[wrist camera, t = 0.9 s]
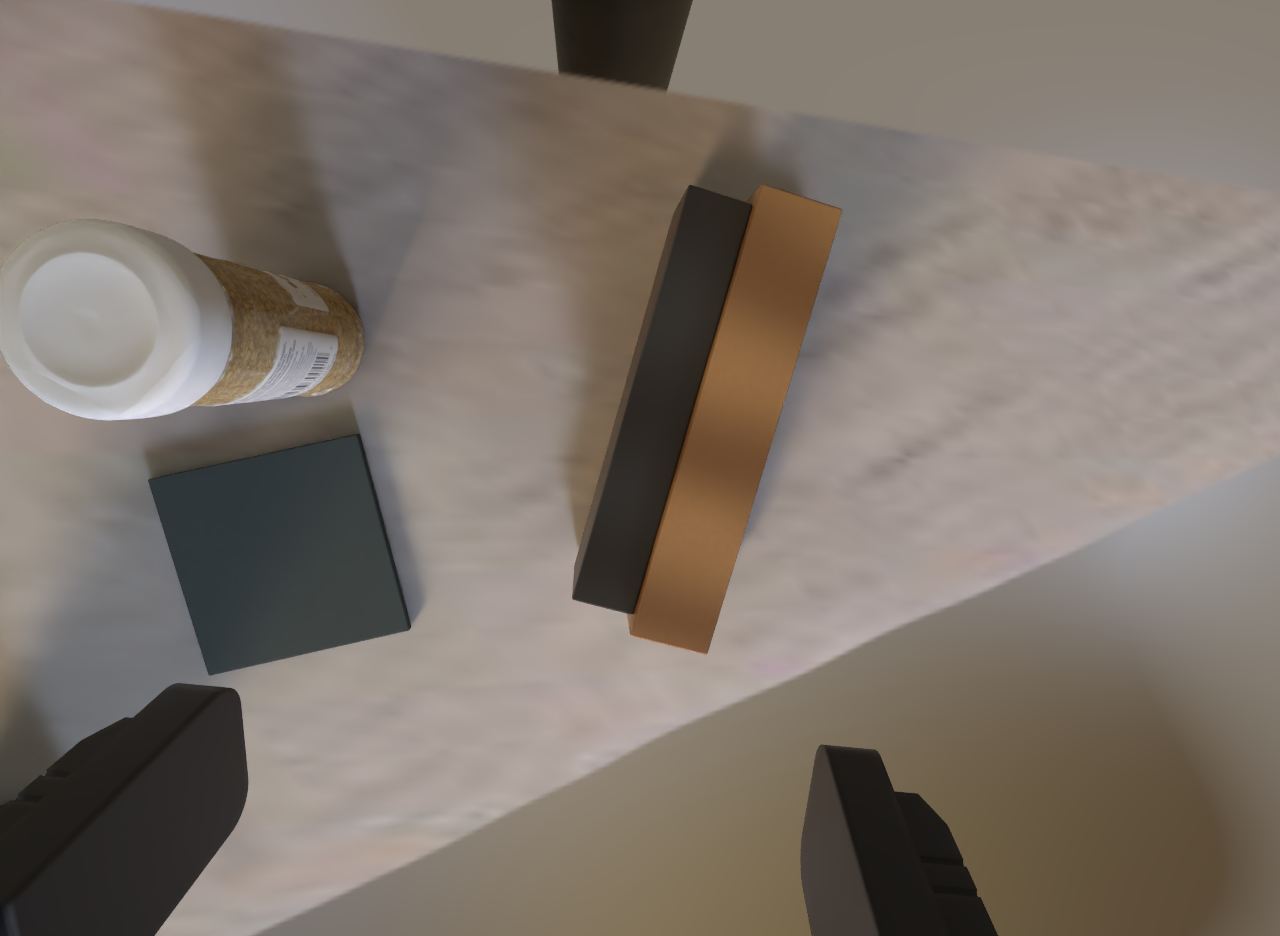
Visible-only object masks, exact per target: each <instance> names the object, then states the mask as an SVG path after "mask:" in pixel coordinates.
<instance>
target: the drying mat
mask: <svg viewBox="0 0 1280 936" xmlns="http://www.w3.org/2000/svg"><path fill="white" fill-rule="evenodd" d="M148 481H149V485H150V488H151V491H152V494H153V497H154V501H155V504H156V507H157V510H158V513H159V517H160V520H161V523H162V526H163V530H164V533H165V536H166V539H167V542H168V546H169V549H170V552H171V555H172V558H173V562H174V565H175V568H176V571H177V575H178V578H179V581H180V584H181V587H182V591H183V594H184V597H185V600H186V603H187V607H188V610H189V613H190V616H191V620H192V623H193V626H194V629H195V632H196V636H197V639H198V642H199V645H200V648H201V652H202V655H203V658H204V661H205V665H206V668H207V671H208V674H209V675H214V674H219V673H223V672H228V671H232V670H236V669H241V668H245V667H250V666H254V665H258V664H263V663H267V662H272V661H276V660H280V659H285V658H289V657H294V656H298V655H303V654H307V653H311V652H316V651H320V650H325V649H329V648H333V647H338V646H342V645H347V644H351V643H355V642H360V641H364V640H369V639H373V638H377V637H382V636H386V635H391V634H395V633H400V632H404V631H408V630H410V628H411V624H410V620H409V617H408V613H407V609H406V605H405V602H404V598H403V594H402V590H401V587H400V583H399V579H398V576H397V572H396V568H395V564H394V561H393V557H392V553H391V549H390V546H389V542H388V538H387V534H386V531H385V527H384V523H383V520H382V516H381V512H380V508H379V505H378V501H377V497H376V493H375V490H374V486H373V482H372V478H371V475H370V471H369V467H368V464H367V460H366V456H365V452H364V449H363V445H362V441H361V437H360V434H355V435H350V436H346V437H341V438H337V439H332V440H327V441H323V442H318V443H313V444H309V445H304V446H300V447H295V448H290V449H286V450H281V451H276V452H272V453H267V454H263V455H258V456H253V457H249V458H244V459H239V460H235V461H230V462H226V463H221V464H216V465H212V466H207V467H202V468H198V469H193V470H189V471H184V472H179V473H175V474H170V475H165V476H161V477H156V478H152V479H149V480H148Z"/></svg>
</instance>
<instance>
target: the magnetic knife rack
mask: <svg viewBox="0 0 1280 936" xmlns="http://www.w3.org/2000/svg"><path fill="white" fill-rule="evenodd" d="M841 214H842V209H840V208H837V207H834V206H831V205H827V204H824V203H821V202H818V201H815V200H812V199H809V198H806V197H802V196H799V195H796V194H793V193H790V192H787V191H784V190H781V189H777V188H774V187H771V186H768V185H765V184H762V185H761V186H760V187H759V188H758V190H757V191H756V192H755V193H754V194H753V195H752V196H751V197H750V198H749V199H748V200H747V201H746V202H743V201H740V200H737V199H734V198H731V197H728V196H724V195H721V194H718V193H715V192H712V191H709V190H705V189H702V188H699V187H696V186H693V185H689V186H688V188H687V190H686V191H685V193H684V195H683V197H682V199H681V201H680V202H679V204H678V206H677V208H676V210H675V211H674V213H673V217H672V220H671V224H670V228H669V231H668V235H667V238H666V242H665V245H664V249H663V252H662V256H661V260H660V263H659V267H658V270H657V274H656V277H655V281H654V284H653V288H652V292H651V295H650V299H649V302H648V306H647V309H646V313H645V316H644V320H643V324H642V327H641V331H640V334H639V338H638V341H637V345H636V348H635V352H634V356H633V359H632V363H631V366H630V370H629V373H628V377H627V381H626V384H625V388H624V391H623V395H622V398H621V402H620V405H619V409H618V413H617V416H616V420H615V423H614V427H613V430H612V434H611V437H610V441H609V445H608V448H607V452H606V455H605V459H604V462H603V466H602V469H601V473H600V477H599V480H598V484H597V487H596V491H595V494H594V498H593V501H592V505H591V509H590V512H589V516H588V519H587V523H586V526H585V530H584V533H583V537H582V541H581V544H580V548H579V551H578V555H577V558H576V562H575V566H574V580H573V594H572V599H573V600H576V601H580V602H584V603H587V604H591V605H595V606H599V607H603V608H607V609H611V610H615V611H619V612H623V613H627V616H628V623H629V629H630V635H631V636H633V637H637V638H641V639H645V640H649V641H653V642H657V643H661V644H665V645H669V646H673V647H677V648H681V649H685V650H689V651H693V652H697V653H701V654H705V655H707V653H708V650H709V647H710V643H711V640H712V637H713V633H714V630H715V627H716V624H717V620H718V617H719V614H720V610H721V607H722V604H723V601H724V597H725V594H726V591H727V588H728V584H729V581H730V578H731V574H732V571H733V568H734V565H735V561H736V558H737V555H738V551H739V548H740V545H741V542H742V538H743V535H744V532H745V529H746V525H747V522H748V519H749V515H750V512H751V509H752V506H753V502H754V499H755V496H756V492H757V489H758V486H759V483H760V479H761V476H762V473H763V470H764V466H765V463H766V460H767V456H768V453H769V450H770V447H771V443H772V440H773V437H774V433H775V430H776V427H777V424H778V420H779V417H780V414H781V411H782V407H783V404H784V401H785V397H786V394H787V391H788V388H789V384H790V381H791V378H792V374H793V371H794V368H795V365H796V361H797V358H798V355H799V352H800V348H801V345H802V342H803V338H804V335H805V332H806V329H807V325H808V322H809V319H810V315H811V312H812V309H813V306H814V302H815V299H816V296H817V293H818V289H819V286H820V283H821V279H822V276H823V273H824V270H825V266H826V263H827V260H828V256H829V253H830V250H831V247H832V243H833V240H834V237H835V234H836V230H837V227H838V224H839V220H840V217H841Z"/></svg>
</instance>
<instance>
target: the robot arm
mask: <svg viewBox="0 0 1280 936" xmlns="http://www.w3.org/2000/svg"><path fill="white" fill-rule="evenodd" d="M247 792H248V771H247V761H246V750H245V740H244V730H243V719H242V709H241V701H240V697H239V695H238V693H237V692H236V691H235V690H234V689H232V688H225V687H214V686H204V685H193V684H182V683H176V684H173V685H171V686H169V687H168V688H166V689H165V690H164V691H163V692H162V693H160V694H159V695H158V696H157V697H156V698H155V699H154V700H153V701H151V702H150V703H149V704H148V705H147V706H146V707H145V708H144V709H142V710H141V711H140V712H139V713H138V714H137V715H136V716H135V717H133V718H128V717H125V718H123V719H121V720H119V721H117V722H115V723H114V724H112V725H110V726H108V727H106V728H104V729H102V730H100V731H98V732H96V733H94V734H93V735H91V736H89V737H87V738H85V739H83V740H81V741H80V742H79V743H78V744H76V745H75V746H74V747H73V748H72V749H71V750H69V751H68V752H67V753H66V754H65V755H64V756H62V757H61V758H60V759H59V760H58V761H56V762H55V763H54V764H53V765H52V766H51V767H49V768H48V769H47V773H46V775H45V776H42V775H40V776H39V777H38V778H36V779H35V780H34V781H33V782H32V783H30V784H29V785H28V786H27V787H26V788H25V789H23V790H22V791H21V792H20V793H19V794H18V798H17V799H16V801H12V800H10V801H9V802H8V803H7V804H6V805H5V806H3V807H2V808H1V809H0V936H154V935H155V934H156V933H157V931H158V930H159V929H160V927H161V926H162V925H163V923H164V922H165V921H166V919H167V918H168V917H169V915H170V914H171V913H172V911H173V910H174V909H175V907H176V906H177V905H178V903H179V902H180V901H181V899H182V898H183V897H184V895H185V894H186V893H187V891H188V890H189V889H190V887H191V886H192V885H193V883H194V882H195V881H196V879H197V878H198V877H199V875H200V874H201V873H202V871H203V870H204V868H205V867H206V866H207V864H208V863H209V862H210V860H211V859H212V858H213V856H214V855H215V854H216V852H217V851H218V850H219V848H220V847H221V846H222V844H223V843H224V842H225V840H226V839H227V838H228V836H229V835H230V834H231V832H232V831H233V829H234V828H235V826H236V824H237V823H238V821H239V818H240V816H241V814H242V811H243V808H244V805H245V802H246V797H247ZM801 879H802V887H803V892H804V898H805V903H806V908H807V913H808V918H809V923H810V929H811V934H812V936H998V935H997V932H996V930H995V928H994V926H993V924H992V921H991V919H990V917H989V915H988V913H987V911H986V908H985V906H984V904H983V902H982V900H981V898H980V897H977V889H976V886H975V884H974V882H973V880H972V878H971V875H970V873H969V871H968V869H967V867H964V865H963V858H962V856H961V854H960V852H959V849H958V847H957V845H956V843H955V840H954V838H953V836H952V834H951V832H950V830H949V827H948V826H947V824H946V823H945V822H944V821H943V820H942V819H941V818H940V817H939V816H938V814H937V813H936V812H935V811H934V810H933V809H932V808H931V807H930V806H929V805H928V804H927V803H926V802H925V801H924V800H923V799H922V798H921V797H920V795H918V794H915V793H904V792H894V790H893V787H892V784H891V782H890V779H889V777H888V774H887V771H886V769H885V766H884V764H883V761H882V759H881V756H880V754H879V753H878V751H876V750H873V749H863V748H852V747H841V746H831V745H820V746H819V747H818V749H817V752H816V756H815V761H814V767H813V774H812V779H811V785H810V791H809V797H808V802H807V808H806V814H805V821H804V826H803V832H802V839H801Z"/></svg>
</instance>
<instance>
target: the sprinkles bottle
mask: <svg viewBox="0 0 1280 936" xmlns="http://www.w3.org/2000/svg"><path fill="white" fill-rule="evenodd" d="M363 349H364V335H363V326H362V323H361V321H360V319H359V317H358V315H357V313H356V312H355V310H354V309H353V307H352V306H351V305H350V304H349V303H348V302H347V301H346V300H345V299H344V298H343V297H342V296H341V295H340V294H339V293H337V292H336V291H334V290H333V289H331V288H329V287H326V286H323V285H321V284H318V283H314V282H307V281H298V280H296V279H293V278H290V277H287V276H284V275H280V274H276V273H272V272H268V271H265V270H261V269H258V268H254V267H250V266H246V265H243V264H239V263H235V262H231V261H228V260H222V259H215V258H211V257H207V256H203V255H200V254H196V253H193V252H191V251H190V250H189V249H187V248H186V247H184V246H183V245H181V244H179V243H178V242H176V241H174V240H172V239H170V238H167V237H165V236H163V235H160V234H156V233H153V232H150V231H147V230H144V229H140V228H136V227H133V226H129V225H125V224H121V223H117V222H113V221H106V220H99V219H76V220H69V221H64V222H60V223H56V224H54V225H51V226H49V227H47V228H44V229H42V230H40V231H38V232H37V233H35V234H33V235H32V236H30V237H28V238H27V239H26V240H25V241H24V242H22V243H21V244H20V245H19V246H18V247H17V248H16V249H15V250H14V252H13V253H12V254H11V255H10V256H9V258H8V259H7V261H6V262H5V264H4V266H3V267H2V269H1V271H0V350H1V352H2V355H3V356H4V358H5V360H6V362H7V363H8V365H9V367H10V368H11V370H12V371H13V372H14V374H15V375H16V376H17V377H18V379H19V380H20V381H21V382H22V383H23V384H24V385H25V386H26V387H27V388H28V389H29V390H30V391H31V392H33V393H34V394H35V395H36V396H38V397H39V398H41V399H42V400H43V401H45V402H46V403H48V404H50V405H52V406H54V407H56V408H58V409H59V410H62V411H65V412H67V413H70V414H73V415H76V416H80V417H84V418H88V419H96V420H127V419H140V418H149V417H157V416H163V415H168V414H171V413H174V412H177V411H180V410H182V409H185V408H186V407H188V406H219V405H228V404H237V403H247V402H256V401H264V400H272V399H280V398H288V397H292V396H305V397H311V396H319V395H324V394H327V393H329V392H331V391H334V390H336V389H338V388H339V387H340V386H342V385H343V384H345V383H346V382H348V381H349V379H350V378H351V377H352V376H353V374H354V373H355V371H356V370H357V369H358V366H359V365H360V362H361V358H362V355H363Z"/></svg>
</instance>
